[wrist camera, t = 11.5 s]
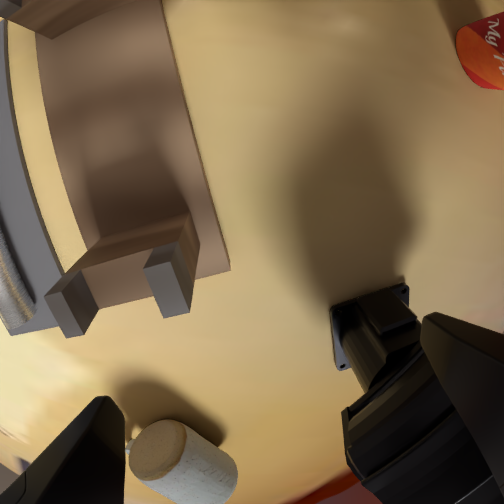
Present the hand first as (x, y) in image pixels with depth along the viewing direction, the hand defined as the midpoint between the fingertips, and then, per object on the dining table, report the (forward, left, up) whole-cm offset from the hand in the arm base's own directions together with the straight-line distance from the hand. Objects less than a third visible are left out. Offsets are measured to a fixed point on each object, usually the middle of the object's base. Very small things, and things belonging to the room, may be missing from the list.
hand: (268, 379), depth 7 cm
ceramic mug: (-19, +12, -12) cm, 26 cm away
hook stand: (+9, +5, -12) cm, 16 cm away
